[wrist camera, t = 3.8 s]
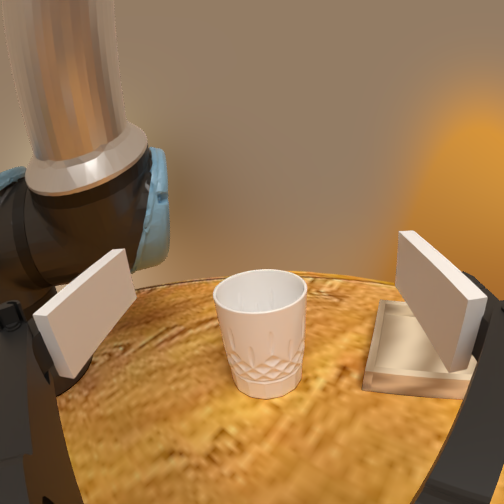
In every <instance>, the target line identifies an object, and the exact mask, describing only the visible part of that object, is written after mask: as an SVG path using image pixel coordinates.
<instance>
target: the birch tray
mask: <svg viewBox="0 0 504 504" xmlns="http://www.w3.org/2000/svg"><path fill="white" fill-rule="evenodd" d="M476 364H477V361H476V359H475V358H474V356H473V355H472V356H471V359H470V362H469V365H468V368H467V369H466V370H461V371H457V372H452V373H448V371H447V369H446V367H445V366H444V364H443V362H442V360H441V359H440V357H439V355H438V354H437V352H436V350H435V348H434V347H433V345H432V343H431V342H430V340H429V338H428V337H427V335H426V333H425V332H424V330H423V328H422V327H421V325H420V324H419V322H418V320H417V319H416V317H415V316H414V314H413V312H412V311H411V309H410V308H409V306H408V305H407V303H406V302H400V301H389V300H380V301H379V307H378V312H377V318H376V323H375V328H374V333H373V337H372V342H371V347H370V351H369V356H368V360H367V364H366V368H365V373H364V380H363V386H362V390H365V391H373V392H381V393H389V394H399V395H408V396H419V397H432V398H447V399H464V396H465V394H466V391H467V389H468V385H469V383H470V380H471V377H472V375H473V372H474V369H475V366H476Z"/></svg>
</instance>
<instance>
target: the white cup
mask: <svg viewBox="0 0 504 504" xmlns="http://www.w3.org/2000/svg"><path fill="white" fill-rule="evenodd" d="M213 299H214V303H215V308H216V312H217V317H218V321H219V326H220V330H221V335H222V339H223V343H224V347H225V350H226V355H227V359H228V362H229V365H230V367H231V371H232V376H233V380H234V382H235V384H236V386H237V387H238V389H239V390H240V391H241V392H243V393H245V394H246V395H248V396H250V397H254V398H261V399H271V398H276V397H281V396H284V395H285V394H287V393H289V392H290V391H292V390H293V389H295V388H296V386H297V384H298V383H299V381H300V380H301V375H302V358H303V354H304V345H305V331H306V305H307V285H306V283H305V281H304V280H303V279H302V278H301V277H299V276H298V275H296V274H293V273H291V272H287V271H282V270H274V269H261V270H252V271H247V272H242V273H239V274H236V275H233V276H231V277H228V278H226V279H225V280H223V281H222V282H220V283H219V284H218V285H217V286H216V288H215V289H214V292H213Z"/></svg>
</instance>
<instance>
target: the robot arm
mask: <svg viewBox="0 0 504 504" xmlns="http://www.w3.org/2000/svg"><path fill="white" fill-rule="evenodd" d="M1 2H2V12H3V22H4V30H5V37H6V43H7V49H8V55H9V60H10V65H11V70H12V75H13V80H14V85H15V89H16V93H17V98H18V102H19V105H20V109H21V113H22V117H23V120H24V124H25V127H26V131H27V134H28V137H29V141H30V144H31V147H32V150H33V156H32V158H31V161H30V163H29V165H28V167H27V169H26V168H25V167H23V166H20V167H15V168H12V169H9V170H6V171H4V172H1V173H0V504H84V503H83V500H82V497H81V494H80V491H79V488H78V485H77V482H76V479H75V475H74V472H73V469H72V465H71V462H70V458H69V454H68V451H67V447H66V443H65V439H64V434H63V430H62V425H61V421H60V416H59V411H58V406H57V400H56V396H57V395H59V394H61V393H63V392H64V391H66V390H67V389H69V388H70V387H71V386H72V385H74V384H75V383H76V382H77V381H78V380H79V379H80V378H81V377H82V376H83V374H84V373H85V372H86V370H87V368H88V366H89V364H90V362H91V358H92V354H93V353H94V352H95V350H96V349H97V348H98V346H99V345H100V344H101V343H102V341H103V340H104V339H105V337H106V336H107V335H108V333H109V332H110V331H111V330H112V328H113V327H114V326H115V325H116V323H117V322H118V321H119V319H120V318H121V317H122V316H123V314H124V313H125V312H126V311H127V309H128V308H129V307H130V306H131V304H132V303H133V302H134V301H135V300H136V298H137V297H136V293H135V289H134V285H133V281H132V277H131V274H133V273H134V272H135V271H138V270H142V269H146V268H150V267H154V266H157V265H159V264H161V263H162V262H163V261H164V260H165V259H166V257H167V255H168V252H169V243H170V221H169V202H168V199H167V198H168V177H167V167H166V166H167V165H166V158H165V153H164V152H163V150H161V149H156V148H152V147H150V148H149V149H148V143H147V137H146V135H145V133H144V131H143V130H142V129H140V128H139V127H137V126H135V125H134V124H132V123H130V122H128V121H127V119H126V113H125V106H124V99H123V92H122V84H121V76H120V68H119V58H118V49H117V38H116V26H115V11H114V0H1ZM64 284H68V285H67V286H66V287H64V288H63V289H62V290H61V291H60V292H58V293H57V291H56V288H55V286H57V285H64ZM395 286H396V288H397V289H398V291H399V292H400V294H401V295H402V297H403V298H404V300H405V301H406V303H407V305H408V306H409V308H410V309H411V311H412V312H413V314H414V316H415V317H416V319H417V320H418V322H419V324H420V325H421V327H422V328H423V330H424V332H425V333H426V335H427V337H428V338H429V340H430V342H431V343H432V345H433V347H434V348H435V350H436V352H437V354H438V355H439V357H440V359H441V360H442V362H443V364H444V366H445V367H446V369H447V371H448V373H452V372H457V371H461V370H466V369H467V368H468V365H469V362H470V359H471V356H472V355H473V356H474V358H475V359H476V361H477V364H476V366H475V369H474V372H473V375H472V377H471V380H470V383H469V385H468V389H467V391H466V394H465V396H464V399H463V402H462V404H461V406H460V409H459V411H458V414H457V416H456V418H455V420H454V423H453V425H452V427H451V429H450V432H449V434H448V436H447V438H446V440H445V442H444V444H443V446H442V448H441V450H440V452H439V454H438V456H437V458H436V460H435V462H434V463H433V465H432V467H431V469H430V471H429V473H428V474H427V476H426V478H425V480H424V481H423V483H422V485H421V486H420V488H419V490H418V491H417V493H416V495H415V496H414V498H413V499H412V501H411V502H410V504H490V501H491V498H492V496H493V493H494V490H495V488H496V485H497V482H498V479H499V476H500V473H501V470H502V467H503V464H504V300H503V301H499V300H498V299H497V298H496V297H495V296H494V295H493V294H492V293H491V292H490V291H489V290H488V289H485V286H483V285H482V284H480V282H479V281H478V280H477V279H476V278H475V277H474V276H472V275H470V274H468V273H465V272H464V271H463V272H461V271H460V270H459V269H457V268H456V267H455V266H454V265H453V264H452V263H451V262H450V261H449V260H447V259H446V258H445V257H444V256H443V255H442V254H441V253H439V252H438V251H437V250H436V249H434V247H432V246H431V245H430V244H429V243H428V242H426V241H425V240H424V239H423V238H422V237H420V236H419V235H418V234H417V233H416V232H414V231H399V237H398V255H397V269H396V280H395Z"/></svg>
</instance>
